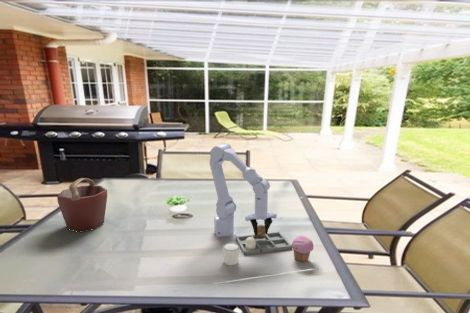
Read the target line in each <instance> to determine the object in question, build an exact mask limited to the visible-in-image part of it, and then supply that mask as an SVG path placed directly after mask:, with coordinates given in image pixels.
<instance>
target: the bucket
mask: <svg viewBox="0 0 470 313" xmlns="http://www.w3.org/2000/svg"><path fill="white" fill-rule="evenodd" d="M83 181H85V182H87V183H88V184H89V185H80V186H79V184H80V183H81V182H83ZM56 200H57V205H58V206H59V209H60V212H61V214H62V217H63V220H64V223H65V226H66V228H67V230H68V229H70V230H74V231H77V232H80V231H85V232H87V231H86V230H91V229H95V228H97V227H98V228H100V227H101V226H102V224H103V223H104V224H105V217H106V210H107V209H106V208H107V201H108V190H107V189H106V187H104V186H102V185H96V184H95V182H94V180H93V179H90V178H87V177H85V178H84V177H80V178H78V179H76V180H74V181H73V182H72V183H71V184H70V185H69V186H68V188H67V189H63V190H62V191H60V193H59V194H58V195H57V196H56ZM104 224H103V225H104ZM100 225H101V226H100ZM99 226H100V227H99ZM98 228H97V229H98ZM70 230H69V231H70ZM95 230H96V229H95ZM74 231H73V232H74ZM91 231H92V230H91ZM77 232H76V233H77ZM80 233H81V232H80Z"/></svg>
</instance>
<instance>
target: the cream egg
mask: <svg viewBox="0 0 470 313" xmlns="http://www.w3.org/2000/svg"><path fill="white" fill-rule="evenodd" d="M255 249H256V241H255V239H254V238H253V237H248V238H247V239H246V251H247V250H255Z"/></svg>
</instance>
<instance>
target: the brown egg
mask: <svg viewBox="0 0 470 313" xmlns="http://www.w3.org/2000/svg"><path fill="white" fill-rule="evenodd" d="M265 231H266V229H265V227H264V224H258V225H257V235H256V238H258V239H264V238H265Z"/></svg>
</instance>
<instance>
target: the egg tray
mask: <svg viewBox="0 0 470 313" xmlns="http://www.w3.org/2000/svg"><path fill="white" fill-rule="evenodd" d="M248 237H253V238H254V239H255V241H256V249H255V250H247V251H246V239H247V238H248ZM235 241H236V244H237V245H239V249H240V250H241V252H242V253H243V255H244V256H247V255H248V256H250V255H255V254H264V253H265V254H266V253H272V252H279V251H280V252H281V251H288V250H293V248H292V246H291V245H292V243H290V242H289V240H287V238H286V237H285V236H284V234H282V233H281V231H273V232H272V231H271V232H267V234H265V238H264V239H258V238H256V235H255V234H248V235H247V234H246V235H238V236H237V235H235Z"/></svg>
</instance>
